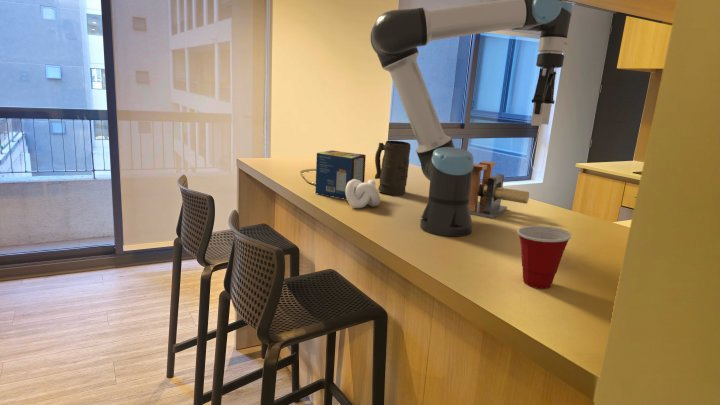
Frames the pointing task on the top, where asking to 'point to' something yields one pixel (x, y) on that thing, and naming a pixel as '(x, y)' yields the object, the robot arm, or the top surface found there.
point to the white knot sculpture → (362, 193)
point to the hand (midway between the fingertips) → (539, 125)
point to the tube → (506, 194)
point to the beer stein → (393, 167)
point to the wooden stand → (489, 203)
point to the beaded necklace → (307, 171)
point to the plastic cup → (541, 253)
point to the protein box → (338, 172)
